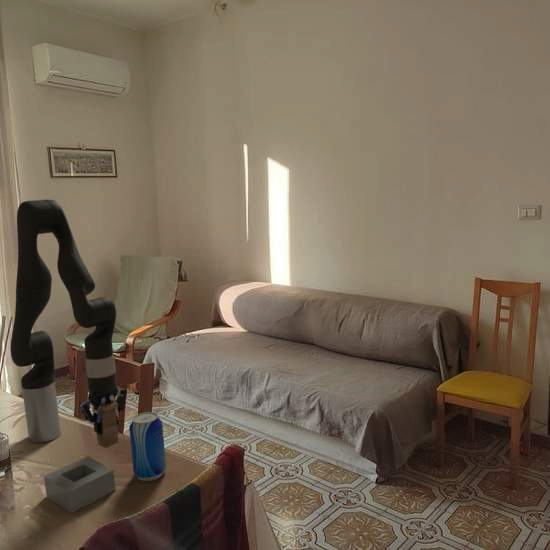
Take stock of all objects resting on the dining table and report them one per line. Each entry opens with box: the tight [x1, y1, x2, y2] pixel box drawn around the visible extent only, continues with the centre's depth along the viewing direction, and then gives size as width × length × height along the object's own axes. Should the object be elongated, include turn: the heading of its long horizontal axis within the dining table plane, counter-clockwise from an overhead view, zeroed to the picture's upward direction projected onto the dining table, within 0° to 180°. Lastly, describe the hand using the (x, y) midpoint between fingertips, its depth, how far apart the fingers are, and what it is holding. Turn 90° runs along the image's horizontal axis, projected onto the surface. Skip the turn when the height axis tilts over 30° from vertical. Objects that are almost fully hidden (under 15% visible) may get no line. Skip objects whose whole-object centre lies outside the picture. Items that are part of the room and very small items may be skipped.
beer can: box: [128, 411, 167, 482], centre depth 140 cm, size 8×8×16 cm
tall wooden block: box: [90, 401, 119, 449], centre depth 147 cm, size 7×4×12 cm, turn 50°
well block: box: [43, 455, 116, 514], centre depth 134 cm, size 12×12×6 cm
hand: (106, 430), depth 147 cm, fingers closed on tall wooden block, 4 cm apart
